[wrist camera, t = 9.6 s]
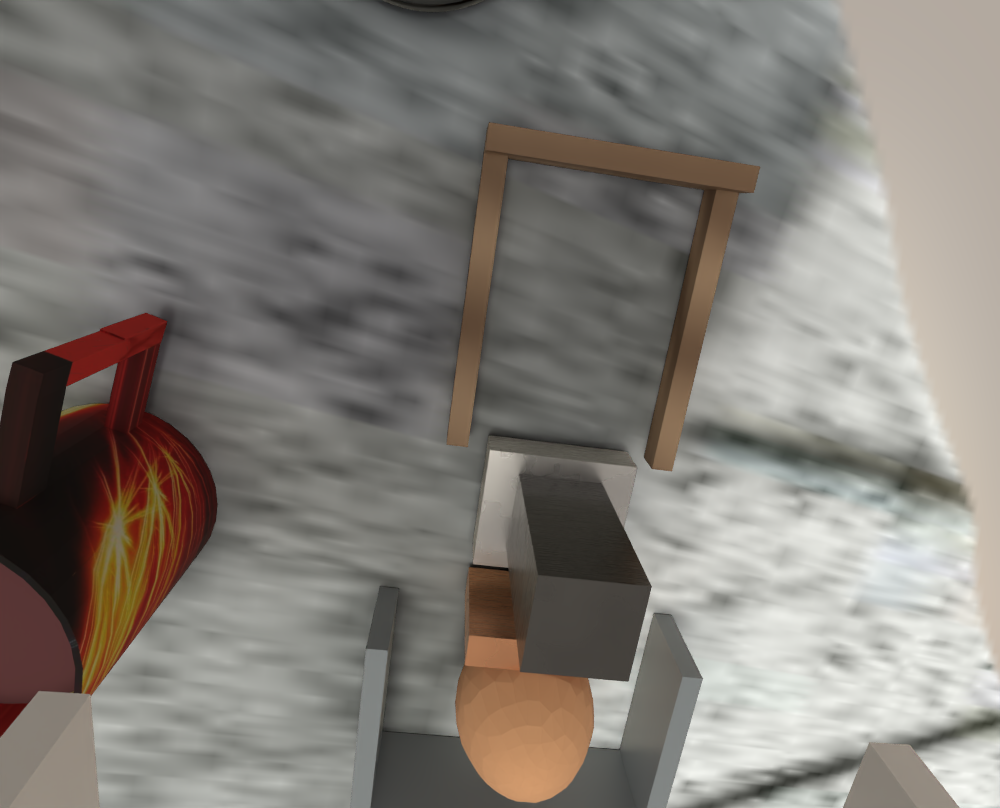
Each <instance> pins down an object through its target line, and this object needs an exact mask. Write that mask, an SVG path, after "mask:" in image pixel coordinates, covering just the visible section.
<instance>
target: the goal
mask: <svg viewBox="0 0 1000 808" xmlns="http://www.w3.org/2000/svg"><path fill="white" fill-rule="evenodd" d="M398 592H399V588H390V587H380V589H379V593H378V598H377V602H376V607H375V611H374V615H373V620H372V624H371V629H370V633H369V638H368V642H367V647H366V654H365V664H364V674H363V684H362V693H361V703H360V713H359V723H358V733H357V743H356V753H355V763H354V773H353V783H352V793H351V803H350V808H666V806H667V802H668V799H669V795H670V792H671V788H672V785H673V781H674V778H675V774H676V771H677V767H678V764H679V760H680V757H681V753H682V750H683V746H684V743H685V739H686V736H687V732H688V729H689V725H690V722H691V718H692V715H693V711H694V708H695V704H696V701H697V697H698V694H699V690H700V687H701V683H702V680H703V678H702V676H701V674H700V672H699V670H698V668H697V666H696V664H695V662H694V660H693V658H692V656H691V654H690V652H689V650H688V648H687V646H686V644H685V642H684V640H683V638H682V636H681V634H680V632H679V630H678V627H677V625H676V623H675V621H674V619H673V617H672V615H666V614H656V613H654V615H653V619H652V623H651V627H650V631H649V635H648V639H647V643H646V647H645V651H644V655H643V659H642V663H641V667H640V671H639V675H638V679H637V683H636V687H635V691H634V695H633V699H632V703H631V707H630V711H629V715H628V719H627V723H626V727H625V731H624V735H623V739H622V743H621V747H620V750H614V749H601V748H588V751H587V754H586V757H585V759H584V762H583V764H582V766H581V767H580V769H579V771H578V772H577V774H576V776H575V777H574V779H573V780H572V782H571V783H570V784H569V785H568V786H567V787H566V788H565V789H564V790H562V791H561V792H560V793H558V794H557V795H555V796H554V797H552V798H550V799H547V800H544V801H540V802H537V803H531V802H518V801H514V800H511V799H508V798H506V797H505V796H503V795H501V794H499V793H498V792H496V791H495V790H494V789H493V788H491V787H490V786H489V785H487V784H486V782H485V781H484V780H483V779H482V778H481V777H480V775H479V774H478V773H477V771H476V769H475V768H474V766H473V765H472V763H471V761H470V760H469V758H468V756H467V754H466V752H465V750H464V748H463V746H462V744H461V740H460V737H447V736H435V735H422V734H409V733H396V732H383V723H384V714H385V705H386V697H387V688H388V679H389V670H390V662H391V653H392V644H393V636H394V627H395V618H396V609H397V601H398Z"/></svg>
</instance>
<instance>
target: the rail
mask: <svg viewBox="0 0 1000 808" xmlns="http://www.w3.org/2000/svg"><path fill="white" fill-rule="evenodd" d="M508 159H513V160H519V161H525V162H532V163H538V164H544V165H550V166H557V167H563V168H569V169H576V170H582V171H588V172H594V173H601V174H607V175H613V176H620V177H626V178H632V179H638V180H645V181H651V182H657V183H664V184H670V185H676V186H682V187H689V188H695V189H701V190H704V194H703V198H702V203H701V207H700V211H699V216H698V220H697V225H696V229H695V234H694V238H693V242H692V247H691V251H690V256H689V260H688V265H687V269H686V273H685V278H684V282H683V287H682V291H681V296H680V300H679V304H678V309H677V313H676V318H675V322H674V326H673V331H672V335H671V340H670V344H669V349H668V353H667V357H666V362H665V366H664V371H663V375H662V380H661V384H660V388H659V393H658V397H657V402H656V406H655V410H654V415H653V419H652V424H651V428H650V433H649V437H648V441H647V446H646V450H645V455H644V458H645V459H646V461H647V462H648V464H649V465H650V467H651V468H652V469H657V470H666V471H672V469H673V465H674V460H675V456H676V452H677V448H678V444H679V440H680V436H681V431H682V427H683V423H684V419H685V415H686V411H687V407H688V402H689V398H690V394H691V390H692V386H693V382H694V378H695V373H696V369H697V365H698V361H699V357H700V353H701V349H702V344H703V340H704V336H705V332H706V328H707V324H708V320H709V315H710V311H711V307H712V303H713V299H714V295H715V291H716V286H717V282H718V278H719V274H720V270H721V266H722V261H723V257H724V253H725V249H726V245H727V241H728V237H729V232H730V228H731V224H732V220H733V216H734V212H735V208H736V203H737V199H738V195H739V193H754V190H755V186H756V182H757V178H758V174H759V170H760V167H759V166H753V165H747V164H741V163H734V162H728V161H722V160H716V159H710V158H704V157H698V156H692V155H686V154H679V153H673V152H667V151H661V150H655V149H649V148H643V147H637V146H631V145H625V144H618V143H612V142H606V141H600V140H594V139H588V138H582V137H576V136H570V135H563V134H557V133H551V132H545V131H539V130H533V129H527V128H521V127H515V126H508V125H502V124H496V123H490V122H489V124H488V128H487V132H486V140H485V148H484V156H483V163H482V171H481V179H480V186H479V194H478V202H477V210H476V217H475V225H474V233H473V241H472V248H471V256H470V264H469V271H468V279H467V287H466V295H465V302H464V310H463V318H462V325H461V333H460V341H459V349H458V356H457V364H456V372H455V380H454V387H453V395H452V403H451V410H450V418H449V426H448V434H447V445H454V446H463V447H468V441H469V434H470V427H471V420H472V413H473V405H474V398H475V391H476V384H477V377H478V370H479V363H480V355H481V348H482V341H483V334H484V327H485V320H486V313H487V305H488V298H489V291H490V284H491V277H492V270H493V263H494V255H495V248H496V241H497V234H498V227H499V220H500V213H501V205H502V198H503V191H504V184H505V177H506V170H507V163H508Z"/></svg>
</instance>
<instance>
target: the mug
mask: <svg viewBox="0 0 1000 808" xmlns="http://www.w3.org/2000/svg"><path fill="white" fill-rule="evenodd" d="M166 325H167V321H165V320H163V319H160V318H158V317H155V316H153V315H150V314H148V313H144V314H141V315H138V316H135V317H132V318H129V319H127V320H124V321H121V322H118V323H115V324H112V325H110V326H107V327H104V328H101V329H100V331H99V332H96V333H93V334H90V335H87V336H85V337H82V338H79V339H76V340H73V341H71V342H68V343H65V344H62V345H59V346H57V347H54V348H51V349H48V350H45V351H43V352H40V353H37V354H34V355H31V356H29V357H26V358H23V359H20V360H18V361H15V362H13V363H12V367H11V371H10V375H9V379H8V383H7V387H6V393H5V398H4V404H3V410H2V416H1V422H0V737H1V736H2V735H3V734H4V733H5V731H6V730H7V729H8V728H9V727H10V725H11V724H12V723H13V722H14V720H15V719H16V718H17V717H18V716H19V714H20V713H21V712H22V711H23V710H24V708H25V707H26V706H27V705H28V704H29V702H30V701H31V700H32V699H33V697H34V696H35V695H36V694H37V693H38V691H46V692H63V693H79V694H90V696H91V695H92V694H93V693H94V691H95V690H96V689H97V687H98V686H99V685H100V683H101V682H102V681H103V679H104V678H105V677H106V675H107V674H108V673H109V672H110V670H111V669H112V668H113V666H114V665H115V664H116V662H117V661H118V660H119V658H120V657H121V656H122V654H123V653H124V652H125V650H126V649H127V648H128V646H129V645H130V644H131V642H132V641H133V640H134V639H135V637H136V636H137V635H138V633H139V632H140V631H141V629H142V628H143V627H144V625H145V624H146V623H147V621H148V620H149V619H150V617H151V616H152V615H153V613H154V612H155V611H156V609H157V608H158V607H159V606H160V604H161V603H162V602H163V600H164V599H165V598H166V596H167V595H168V594H169V592H170V591H171V590H172V588H173V587H174V586H175V584H176V583H177V582H178V580H179V579H180V578H181V576H182V575H183V574H184V573H185V571H186V570H187V569H188V567H189V566H190V565H191V563H192V562H193V561H194V559H195V558H196V557H197V555H198V554H199V553H200V551H201V550H202V548H203V547H204V545H205V544H206V542H207V541H208V539H209V538H210V536H211V533H212V530H213V527H214V525H215V522H216V514H217V496H216V487H215V484H214V481H213V478H212V475H211V472H210V470H209V468H208V466H207V464H206V463H205V461H204V459H203V457H202V456H201V454H200V453H199V452H198V450H197V449H196V448H195V447H194V446H193V444H192V443H191V442H190V441H189V440H188V439H187V438H186V437H185V436H184V435H183V434H181V433H180V432H179V431H178V430H177V429H175V428H174V427H173V426H172V425H170V424H168V423H167V422H165V421H163V420H161V419H160V418H158V417H156V416H154V415H152V414H150V413H147V412H145V408H146V403H147V399H148V395H149V390H150V386H151V382H152V378H153V373H154V369H155V365H156V361H157V356H158V352H159V348H160V344H161V341H162V338H163V334H164V331H165V328H166ZM116 363H118V365H117V369H116V374H115V378H114V383H113V387H112V392H111V397H110V401H109V404H100V403H92V404H86V405H81V406H75V407H71V408H69V409H66V410H64V411H61V410H62V405H63V400H64V395H65V390H66V386H68V385H71V384H73V383H75V382H77V381H79V380H81V379H83V378H86V377H88V376H90V375H92V374H94V373H96V372H98V371H101V370H103V369H105V368H107V367H109V366H111V365H113V364H116Z"/></svg>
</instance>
